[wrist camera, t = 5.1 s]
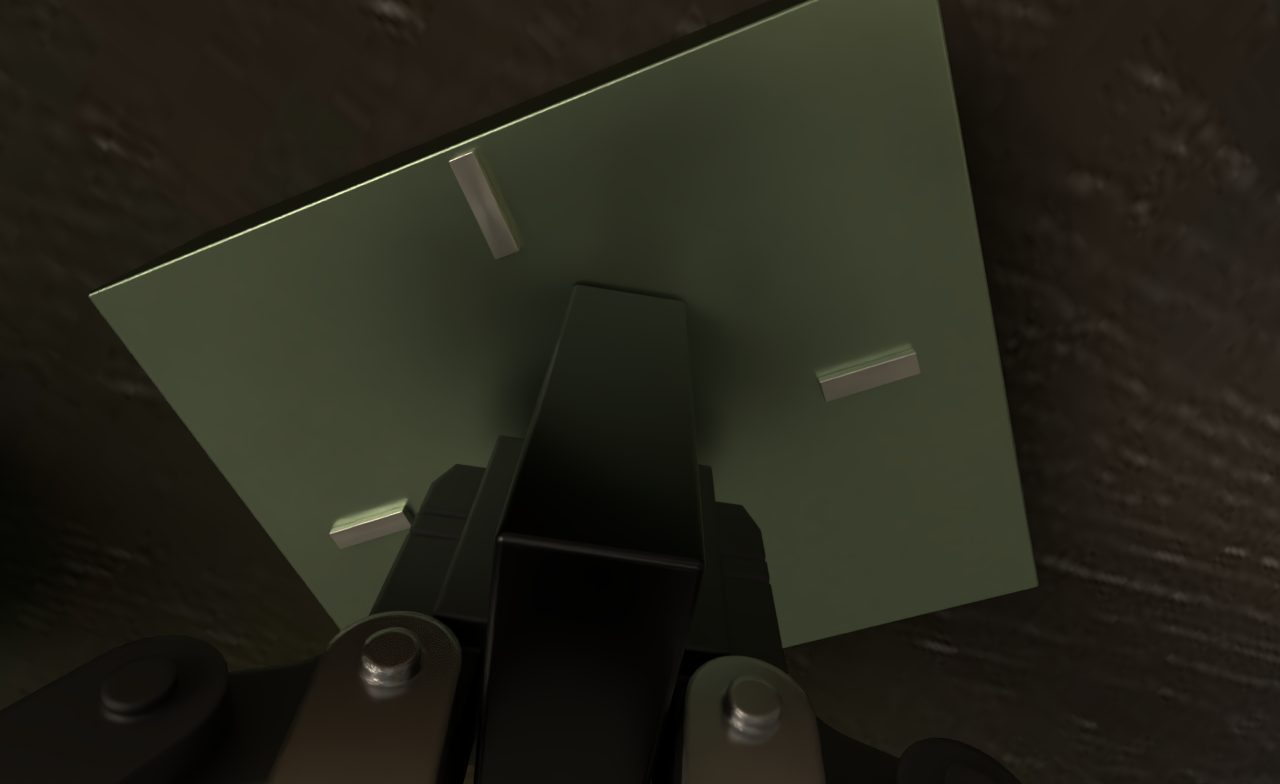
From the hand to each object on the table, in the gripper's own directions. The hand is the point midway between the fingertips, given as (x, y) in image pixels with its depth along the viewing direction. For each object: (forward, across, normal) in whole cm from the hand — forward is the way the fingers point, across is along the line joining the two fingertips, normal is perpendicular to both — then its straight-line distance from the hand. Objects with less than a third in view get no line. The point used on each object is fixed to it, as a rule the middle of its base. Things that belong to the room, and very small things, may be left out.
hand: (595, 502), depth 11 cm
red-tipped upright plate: (+1, 0, 0) cm, 1 cm away
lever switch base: (+4, 0, 0) cm, 4 cm away
